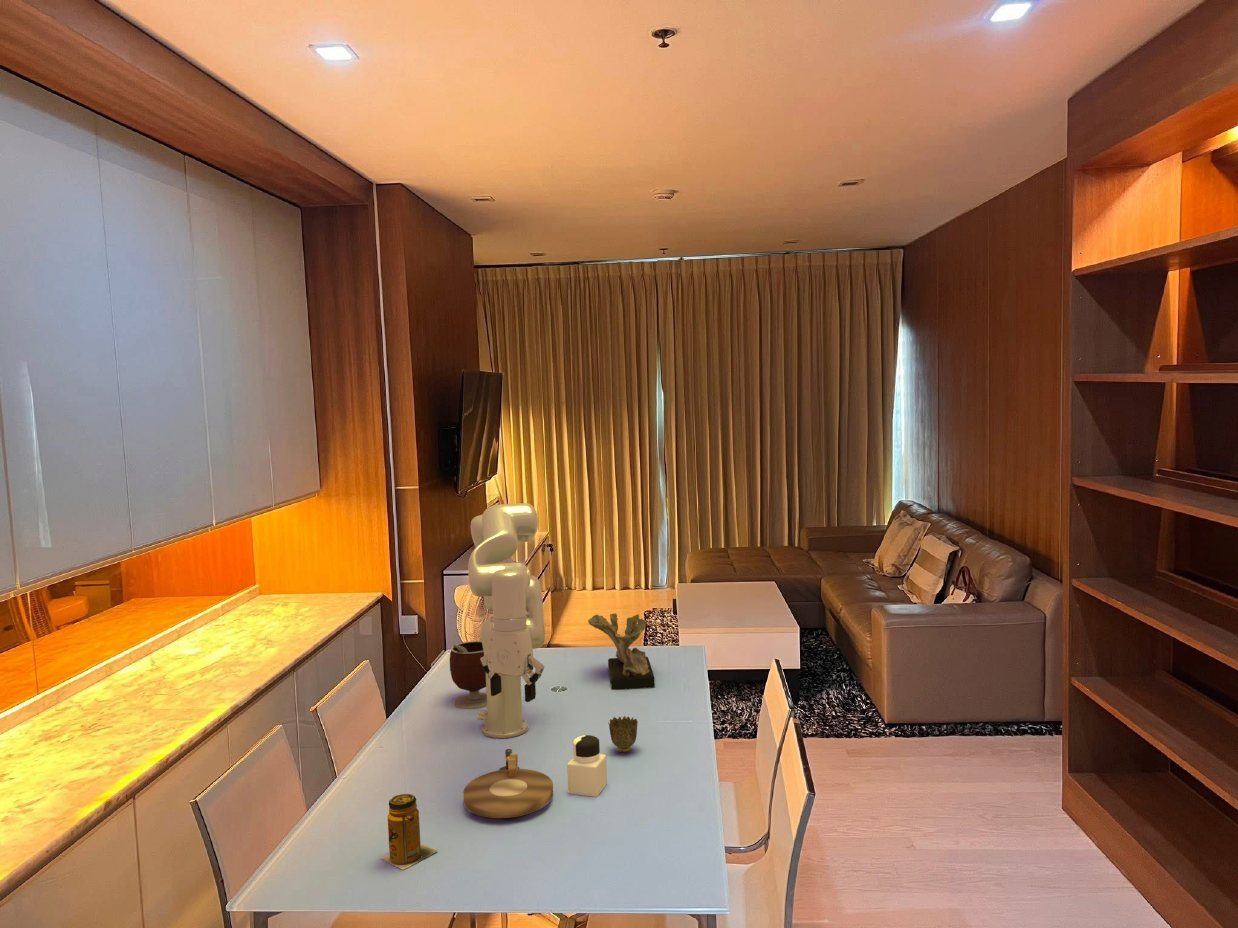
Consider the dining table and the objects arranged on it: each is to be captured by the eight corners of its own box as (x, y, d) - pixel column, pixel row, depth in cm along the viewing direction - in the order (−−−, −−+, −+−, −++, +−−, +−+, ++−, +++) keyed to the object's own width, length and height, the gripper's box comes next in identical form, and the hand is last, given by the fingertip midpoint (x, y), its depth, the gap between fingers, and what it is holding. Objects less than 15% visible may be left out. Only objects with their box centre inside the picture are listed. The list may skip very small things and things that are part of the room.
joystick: (499, 769, 206) (498, 746, 206) (519, 767, 207) (518, 744, 206) (498, 781, 199) (497, 758, 199) (519, 780, 200) (518, 756, 199)
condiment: (380, 858, 166) (377, 800, 166) (416, 841, 173) (413, 784, 172) (402, 870, 162) (399, 810, 161) (438, 852, 168) (435, 794, 167)
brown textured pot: (635, 758, 210) (634, 727, 209) (606, 756, 212) (605, 725, 211) (640, 746, 217) (639, 716, 217) (613, 744, 219) (612, 715, 218)
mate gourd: (469, 691, 264) (466, 629, 263) (506, 697, 258) (503, 633, 257) (438, 708, 251) (435, 642, 249) (476, 714, 244) (473, 647, 243)
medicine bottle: (607, 783, 196) (605, 733, 196) (596, 797, 190) (595, 745, 189) (579, 780, 199) (577, 730, 198) (567, 793, 192) (565, 742, 191)
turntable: (548, 817, 178) (547, 789, 178) (454, 818, 179) (453, 791, 179) (557, 775, 198) (556, 751, 198) (473, 777, 199) (472, 753, 198)
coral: (655, 691, 259) (653, 623, 257) (589, 694, 258) (587, 626, 257) (650, 667, 284) (648, 604, 282) (590, 669, 283) (588, 606, 282)
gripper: (469, 623, 192) (473, 696, 193) (531, 631, 183) (534, 707, 184) (490, 616, 199) (493, 687, 200) (550, 623, 190) (553, 697, 191)
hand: (513, 697), depth 192 cm, fingers open, 9 cm apart
